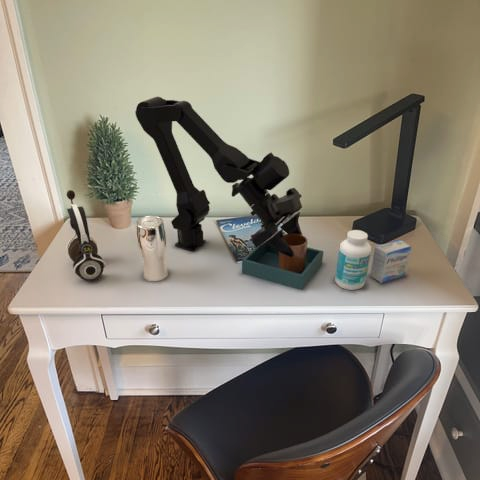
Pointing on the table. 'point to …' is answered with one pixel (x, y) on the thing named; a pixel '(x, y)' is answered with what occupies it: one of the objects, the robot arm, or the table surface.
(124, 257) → the table surface
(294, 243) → the cup
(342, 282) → the pill bottle
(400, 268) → the medicine box
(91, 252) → the headset
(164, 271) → the beer glass
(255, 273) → the tray
